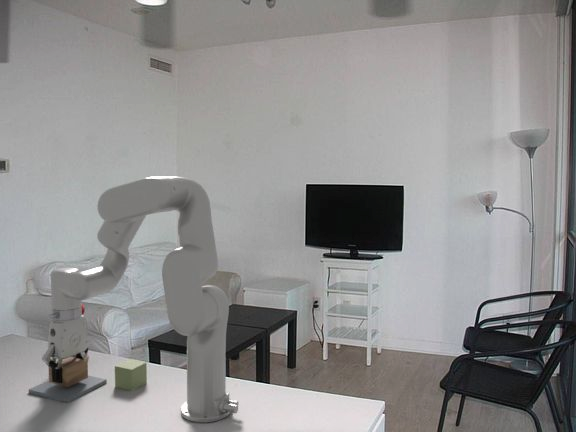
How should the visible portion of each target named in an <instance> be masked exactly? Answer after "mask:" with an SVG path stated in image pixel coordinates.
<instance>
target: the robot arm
mask: <svg viewBox="0 0 576 432" xmlns="http://www.w3.org/2000/svg"><path fill="white" fill-rule="evenodd" d="M96 206H97V211H98V215H99V216H100V218H101V219H102V220H103V223H102V224H101V226H100V228H99V230H98V232H97V234H96V235H97V236H96V237H97V240H98V242H99V243H100V244H101V245H102V246H103V247H105V248H106V249H107V250H106V254H105V256H104V258H103V259H102V261H101V263H100V264H99V266H96V267H92V268H88V269H86V270H82V271H81V270H80V269H78V268H76V267H60V268H59V267H58V268H56V269H54V270H52V271H51V273H50V297H51V298H50V299H51V303H50V304H51V314H49V319H51V320H50V322H49V329H48V337H47V338H48V339H47V350H46V351H45V353H44V354H43V355H42V358H41V361H42V362H44V363H45V365H46V366H48V368H49V367H50V368H52V381H53V382H56V383H62V368H60V366H61V363H62V360H63V359H66V358H69V357H71V356H74V355H75V356H76V357H75V358H79V359H84V358H85V357H86V353H87V351H88V352H89V348H90V345H91V343H92V340H91V339H89V337H88V336H89V335H88V330H87V329H88V327H87V323H86V318H85V315H84V314H83V315H82V306H81V304H82V301H87V300H89V299H92V298H95V297H98V296H100V295H101V296H102V295H104V294H106V293H109V292H112V291H113V290H114V289H115V288H116V287H117V286H118V285H119V283H120V282H121V280H122V278H123V276H124V274H125V272H126V270H127V269H128V266H129V257H130V253H129V252H130V251H129V247H130V246H131V243H132V242H133V240H134V238H135V236H136V235H137V232H138V231H139V229H140V228H141V226H142V224H143V222H144V221H145V218H146V217H147V215H153V214H157V213H158V214H159V213H165V212H167V213H168V212H171V211H177V212H178V213H179V216H178V219H177V220H178V221H177V234H178V239H179V247H177V248H175V249H172V250H171V251H170V252H169V253H168V254H167V255H166V256H165V259H164V260H163V263H162V269H161V276H162V284H163V285H162V286H163V291H164V299H165V305H166V311H167V317H168V320H169V323H170V325H171V327H172V329H174V330H175V333H176V332H177V334H179V335H182V336H184V337H185V336H186V337H187V339H186V401H185V402H184V403H183V404H182V405H181V407H180V415H181V416H182V417H183V418H184V419H185V420H187V421H190V422H193V423H213V422H216V421H220V420H223V419H224V418H227V417H228V416H229V415H230V414H237V413H238V411H239V401H238V400H232V399H231V398H230V392H227V391H226V386H227V385H226V383H227V382H226V380H227V379H226V377H227V375H226V373H227V372H226V371H227V370H226V367H227V366H226V362H227V361H226V360H227V358H226V349H227V346H226V345H227V328H228V321H229V314H230V313H229V311H230V304H229V303H230V302H229V299H228V296H227V294H226V292H225V291H224V290H223V289H221V288H220V287H219V286H216V285H212V284H210V285H203V283H204V282H206V281H207V280H210V279H211V278H213V277H214V276H215V275H216V274H217V271H218V268H219V260H218V254H217V253H218V252H217V246H216V238H215V232H214V226H213V220H212V218H213V217H212V210H211V209H212V208H211V202H210V198H209V195H208V193H207V191H206V189H204V187H203V186H202V185H201V184H200V183H198V182H197V181H195V180H193V179H191V178H188V177H183V176H175V175H174V176H172V175H171V176H149V177H144V178H140V179H137V180H135V181H130V182H128V183H124V184H121V185H117V186H113V187H110V188H108V189H106V190H104V192H103V193H102V194H101V195H100V196H99V199H98V201H97V205H96ZM87 354H88V353H87ZM56 361H57V363H55V362H56Z"/></svg>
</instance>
